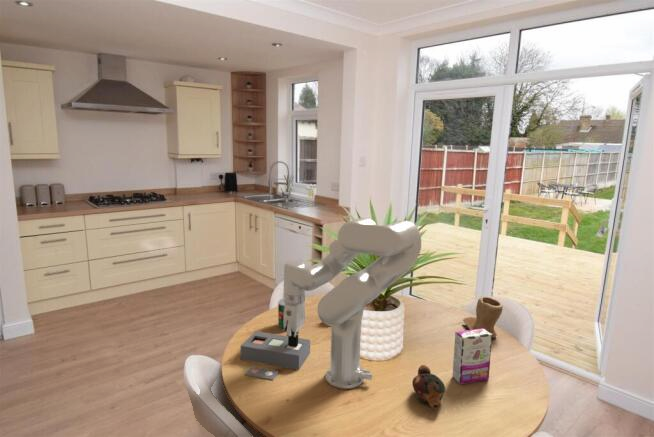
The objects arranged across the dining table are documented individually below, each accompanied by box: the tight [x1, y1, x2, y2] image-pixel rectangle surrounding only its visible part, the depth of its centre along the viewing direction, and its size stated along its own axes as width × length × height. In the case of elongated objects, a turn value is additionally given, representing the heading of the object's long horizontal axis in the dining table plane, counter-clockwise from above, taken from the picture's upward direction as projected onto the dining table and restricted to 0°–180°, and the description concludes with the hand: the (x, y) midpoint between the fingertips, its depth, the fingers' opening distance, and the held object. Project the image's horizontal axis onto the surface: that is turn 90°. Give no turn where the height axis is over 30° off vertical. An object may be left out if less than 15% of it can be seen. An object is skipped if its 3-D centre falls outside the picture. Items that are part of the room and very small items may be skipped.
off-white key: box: [287, 343, 302, 350], centre depth 145 cm, size 4×4×2 cm
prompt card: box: [244, 366, 280, 381], centre depth 136 cm, size 10×5×1 cm, turn 74°
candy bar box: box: [452, 328, 493, 385], centre depth 134 cm, size 11×5×16 cm, turn 105°
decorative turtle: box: [411, 364, 446, 410], centre depth 124 cm, size 10×15×8 cm, turn 8°
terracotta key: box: [253, 340, 264, 344], centre depth 149 cm, size 4×4×2 cm
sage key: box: [268, 339, 284, 347], centre depth 147 cm, size 4×4×2 cm
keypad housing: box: [240, 330, 311, 371], centre depth 147 cm, size 22×12×5 cm, turn 74°
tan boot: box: [463, 296, 503, 339], centre depth 169 cm, size 15×12×15 cm
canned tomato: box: [277, 298, 287, 332], centre depth 170 cm, size 8×8×11 cm
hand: (293, 345), depth 145 cm, fingers closed
